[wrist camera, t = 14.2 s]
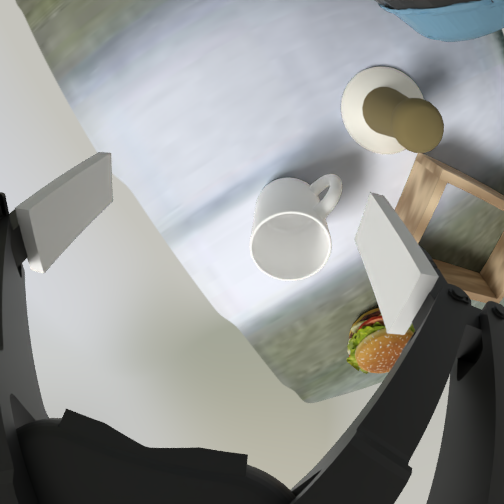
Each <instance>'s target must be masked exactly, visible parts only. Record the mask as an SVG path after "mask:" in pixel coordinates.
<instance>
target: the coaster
mask: <svg viewBox="0 0 504 504" xmlns="http://www.w3.org/2000/svg"><path fill="white" fill-rule="evenodd" d="M379 87H390V88H393V89H395V90H397V91H399V92H400V93H402V94H403V95H405V96H407V97H408V98H421V99H424V98H423V95H422V93H421V91H420V89H419V88H418V86H417V85H416V84H415V82H414V81H413V80H412V79H411V78H410V77H409V76H407V75H406V74H404V73H403V72H401V71H399V70H396V69H394V68H390V67H372V68H368V69H365V70H363V71H361V72H359V73H358V74H356V75H355V76H354V77H353V78H352V79H351V80H350V81H349V83H348V84H347V86H346V88H345V89H344V92H343V95H342V99H341V115H342V119H343V123H344V125H345V127H346V129H347V131H348V133H349V134H350V136H351V137H352V138H353V139H354V140H355V141H356V142H357V143H358V144H359V145H361V146H362V147H363V148H365V149H367V150H369V151H371V152H374V153H378V154H395V153H399V152H401V151H404V150H405V148H404V147H403V146H402V145H400V144H399V143H398V141H397V140H396V138H393V137H389V136H386V135H382V134H379V133H376V132H375V131H373V130H372V129H371V128H370V127H369V126H368V125H367V123H366V122H365V119H364V117H363V111H362V106H363V102H364V99H365V98H366V96H367V94H368V93H369V92H371V91H372V90H373V89H375V88H379Z"/></svg>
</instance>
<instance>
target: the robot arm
mask: <svg viewBox="0 0 504 504" xmlns="http://www.w3.org/2000/svg"><path fill="white" fill-rule="evenodd" d="M375 1H376V2H378V4H379V6H380V7H381V8H383V9H384V10H386V11H388V12H390V13H393V14H395V15H396V16H397V17H399V18H400V19H401V20H403V21H404V22H405V23H407V24H408V25H409V26H410V27H412V28H413V29H414V30H415V31H417V32H418V33H419V34H421V35H423V36H425V37H427V38H430V39H434V40H441V41H445V42H457V41H465V40H470V39H475V38H478V37H482V36H485V35H488V34H490V33H493V32H496V31H498V30H500V29H502V28H504V0H375ZM112 202H113V193H112V168H111V153H104V152H98V153H97V154H95V155H93V156H92V157H90V158H88V159H87V160H85V161H83V162H82V163H80V164H78V165H77V166H75V167H74V168H72V169H70V170H69V171H67V172H66V173H64V174H63V175H61V176H60V177H58V178H56V179H55V180H54V181H52V182H51V183H49V184H48V185H46V186H45V187H43V188H42V189H40V190H39V191H38V192H36V193H35V194H34V195H32V196H31V197H29V198H28V199H26V200H25V201H24V202H22V203H21V204H20V205H18V206H17V207H16V208H15V210H14V211H12V212H11V213H10V214H9V212H8V207H7V202H6V196H5V194H4V193H0V504H394V503H395V501H396V499H397V498H398V496H399V495H400V493H401V492H402V490H403V488H404V487H405V485H406V483H407V482H408V480H409V478H410V476H411V473H412V468H411V467H410V466H408V462H409V460H410V458H411V456H412V454H413V452H414V451H415V449H416V447H417V445H418V443H419V441H420V440H421V438H422V436H423V434H424V432H425V430H426V428H427V425H428V424H429V422H430V419H431V417H432V415H433V413H434V411H435V409H436V406H437V404H438V402H439V399H440V397H441V395H442V392H443V390H444V387H445V385H446V382H447V379H448V377H449V374H450V385H449V395H448V405H447V412H446V419H445V425H444V431H443V437H442V443H441V448H440V453H439V458H438V462H437V467H436V471H435V475H434V479H433V483H432V487H431V490H430V494H429V497H428V500H427V504H504V307H503V306H502V305H501V304H498V303H497V302H494V301H488V302H487V303H486V305H485V306H484V308H483V309H482V310H481V309H478V308H476V307H473V306H471V300H470V298H469V296H468V295H467V294H466V293H465V292H464V291H463V290H462V289H461V288H459V287H457V286H455V285H452V284H448V283H447V281H446V280H445V278H444V276H443V275H442V273H441V272H440V270H439V269H438V268H437V265H436V264H435V262H434V261H433V259H432V258H431V256H430V255H429V253H428V252H427V251H425V250H424V249H423V248H422V247H421V246H419V245H418V243H417V242H416V240H415V239H414V237H413V236H412V234H411V233H410V231H409V230H408V228H407V227H406V226H405V224H404V223H403V221H402V220H401V219H400V217H399V216H398V214H397V213H396V212H395V210H394V209H393V207H392V206H391V205H390V203H389V202H388V201H387V199H386V198H385V197H384V196H383V195H379V194H375V193H371V192H370V194H369V198H368V201H367V204H366V207H365V210H364V213H363V216H362V219H361V222H360V225H359V228H358V231H357V233H356V236H355V239H354V240H355V243H356V245H357V248H358V250H359V253H360V255H361V258H362V261H363V263H364V266H365V269H366V271H367V274H368V277H369V280H370V283H371V285H372V288H373V291H374V294H375V297H376V300H377V303H378V306H379V309H380V312H381V315H382V318H383V321H384V324H385V327H386V330H387V334H400V335H405V333H406V332H407V330H408V329H409V327H410V325H411V324H413V327H414V329H415V332H414V333H413V335H412V336H411V338H410V339H409V341H408V342H407V344H406V345H405V347H404V348H403V350H402V353H401V354H400V356H399V358H398V359H397V361H396V362H395V364H394V366H393V367H392V369H391V370H390V372H389V373H388V375H387V376H386V378H385V379H384V381H383V382H382V384H381V385H380V387H379V388H378V389H377V391H376V392H375V393H374V395H373V396H372V398H371V399H370V400H369V402H368V403H367V405H366V406H365V407H364V409H363V410H362V411H361V412H360V414H359V415H358V416H357V418H356V419H355V421H354V422H353V423H352V424H351V425H350V427H349V428H348V429H347V430H346V432H345V433H344V434H343V435H342V436H341V438H340V439H339V440H338V441H337V442H336V444H335V445H334V446H333V447H332V448H331V449H330V450H329V452H328V453H327V454H326V455H325V456H324V457H323V459H321V461H320V462H319V463H318V464H317V465H316V466H315V467H314V468H313V469H312V470H311V471H310V472H309V473H308V474H307V475H306V476H305V477H304V478H303V479H302V480H301V481H299V482H298V483H297V484H296V485H295V486H294V487H293V488H292V489H291V490H289V489H288V488H287V487H286V486H285V485H284V484H283V483H281V482H280V481H279V480H277V479H276V478H274V477H273V476H271V475H269V474H268V473H266V472H264V471H262V470H260V469H257V468H255V467H252V466H250V465H247V456H248V455H245V454H238V453H230V452H223V451H217V450H211V449H205V448H149V447H145V446H143V445H141V444H139V443H137V442H136V441H134V440H132V439H130V438H128V437H127V436H125V435H123V434H122V433H120V432H118V431H117V430H115V429H113V428H112V427H110V426H109V425H107V424H105V423H103V422H100V421H97V420H94V419H92V418H89V417H86V416H84V415H81V414H78V413H76V412H73V411H71V410H68V409H66V411H65V413H64V415H63V417H62V418H49V417H48V415H47V414H46V411H45V409H44V405H43V402H42V398H41V393H40V389H39V385H38V381H37V375H36V371H35V365H34V360H33V354H32V348H31V341H30V335H29V326H28V317H27V306H26V293H25V272H24V268H23V265H22V262H23V261H24V260H25V259H26V258H27V259H28V262H29V265H30V269H31V270H33V271H36V272H40V273H45V272H46V271H47V270H48V269H49V267H50V266H51V265H52V264H53V263H54V262H55V260H56V259H57V258H58V257H59V256H60V255H61V254H62V253H63V252H64V251H65V249H66V248H67V247H68V246H69V245H70V244H71V243H72V242H73V241H74V240H75V239H76V237H77V236H78V235H79V234H80V233H81V232H82V231H83V230H84V229H85V228H86V227H87V226H88V225H89V224H90V223H91V222H92V221H93V220H94V219H95V218H96V217H97V216H98V215H99V214H100V213H101V212H102V211H103V210H104V209H105V208H106V207H107V206H108V205H109V204H110V203H112Z"/></svg>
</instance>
